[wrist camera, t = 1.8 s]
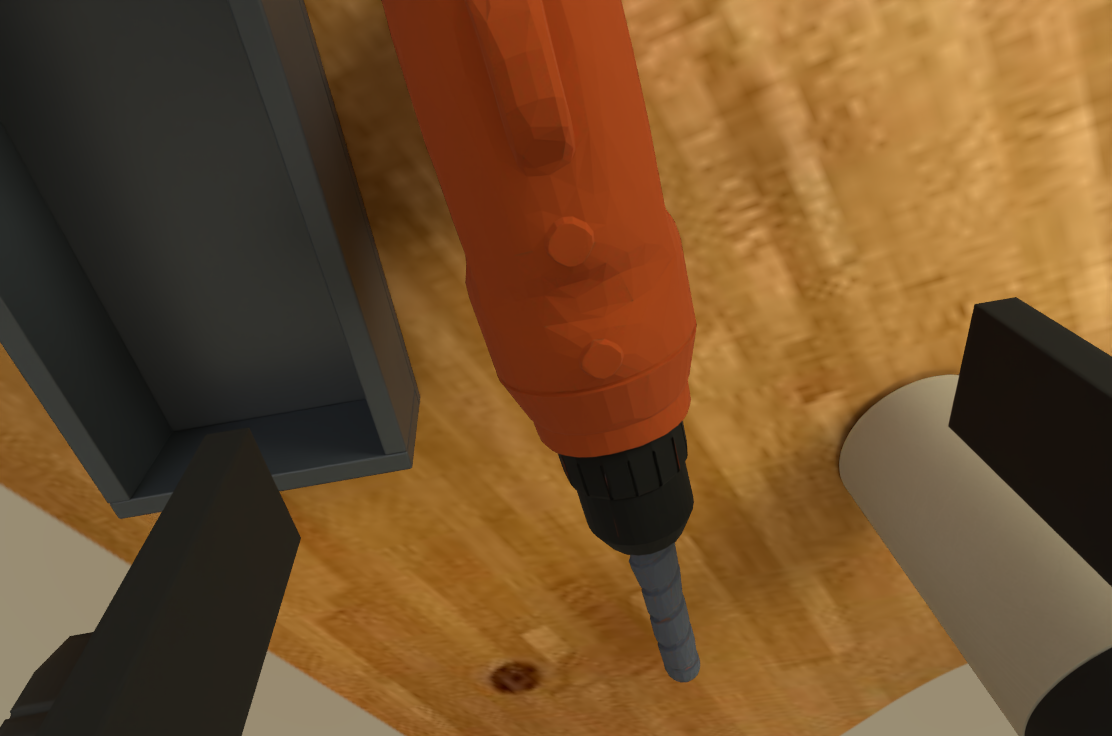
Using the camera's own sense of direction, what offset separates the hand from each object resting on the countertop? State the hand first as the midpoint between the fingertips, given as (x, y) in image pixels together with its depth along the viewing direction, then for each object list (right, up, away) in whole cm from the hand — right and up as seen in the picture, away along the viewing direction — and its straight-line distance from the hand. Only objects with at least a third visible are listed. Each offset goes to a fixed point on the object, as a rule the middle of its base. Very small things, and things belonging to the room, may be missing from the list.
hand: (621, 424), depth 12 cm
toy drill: (-2, +7, +12) cm, 14 cm away
